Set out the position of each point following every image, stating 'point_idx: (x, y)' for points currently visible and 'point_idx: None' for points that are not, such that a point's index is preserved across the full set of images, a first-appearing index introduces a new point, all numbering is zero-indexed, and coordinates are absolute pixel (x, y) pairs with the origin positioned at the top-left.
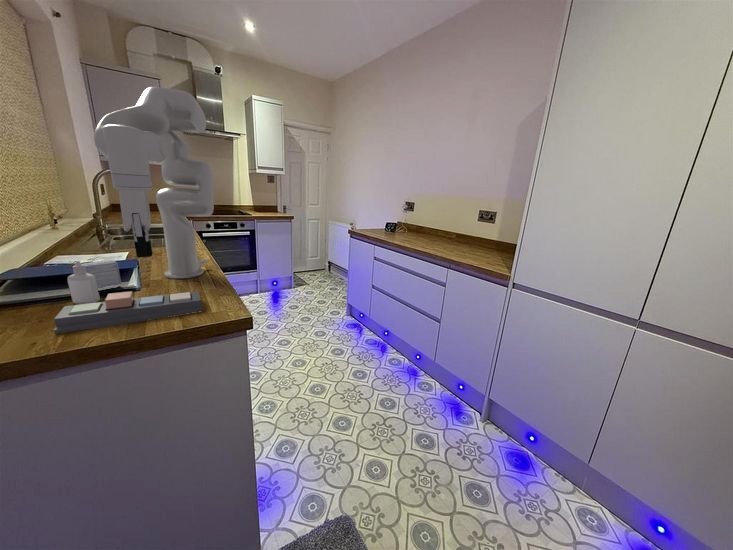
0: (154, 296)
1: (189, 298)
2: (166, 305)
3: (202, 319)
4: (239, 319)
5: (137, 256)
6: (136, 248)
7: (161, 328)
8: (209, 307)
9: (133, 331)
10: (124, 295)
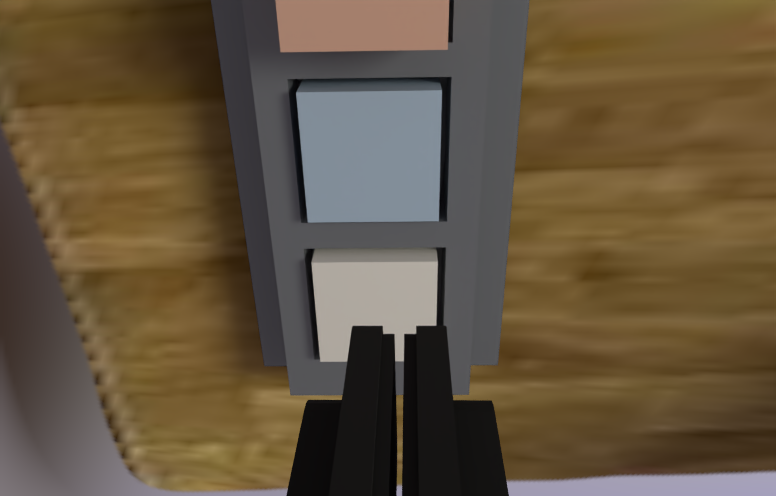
0: (428, 173)
1: (321, 353)
2: (273, 233)
3: (168, 347)
4: (129, 470)
5: (351, 332)
6: (338, 428)
7: (94, 179)
8: None
9: (81, 43)
10: (349, 2)
